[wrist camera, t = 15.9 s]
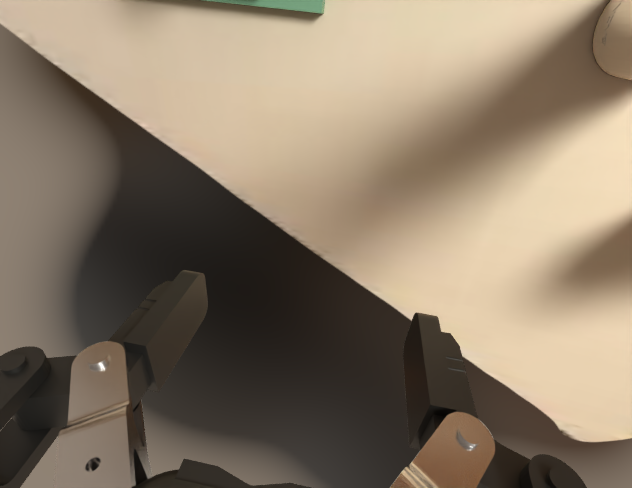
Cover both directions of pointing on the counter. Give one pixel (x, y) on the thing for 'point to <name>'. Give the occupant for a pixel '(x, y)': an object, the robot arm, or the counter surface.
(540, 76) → the counter surface
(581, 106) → the counter surface
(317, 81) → the counter surface
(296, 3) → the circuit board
